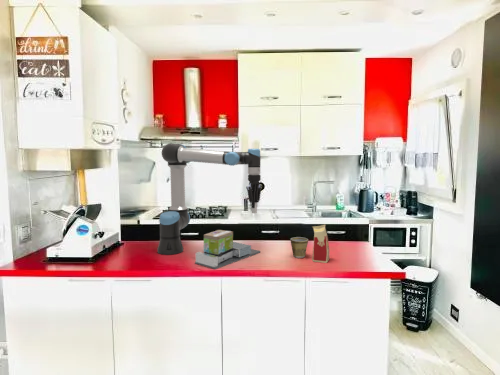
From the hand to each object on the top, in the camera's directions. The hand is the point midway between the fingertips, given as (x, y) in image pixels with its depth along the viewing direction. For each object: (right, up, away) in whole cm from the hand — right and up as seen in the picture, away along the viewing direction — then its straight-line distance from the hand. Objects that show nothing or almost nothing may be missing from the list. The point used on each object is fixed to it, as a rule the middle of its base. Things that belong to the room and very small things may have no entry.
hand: (254, 213), depth 213 cm
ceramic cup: (+26, -24, -12) cm, 37 cm away
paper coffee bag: (+36, -25, -20) cm, 48 cm away
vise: (-14, -24, -16) cm, 32 cm away
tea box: (-20, -24, -21) cm, 38 cm away
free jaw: (-11, -22, -11) cm, 27 cm away
